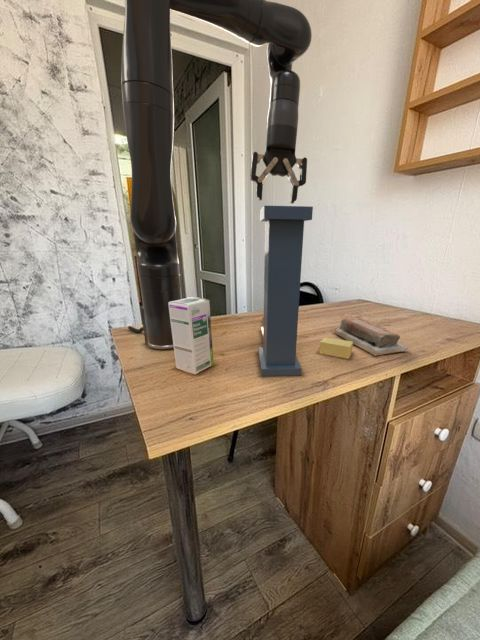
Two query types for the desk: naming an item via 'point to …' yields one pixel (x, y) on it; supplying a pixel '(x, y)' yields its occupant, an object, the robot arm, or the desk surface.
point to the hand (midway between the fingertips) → (276, 201)
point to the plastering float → (369, 336)
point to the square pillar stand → (282, 287)
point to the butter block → (336, 347)
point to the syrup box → (191, 334)
